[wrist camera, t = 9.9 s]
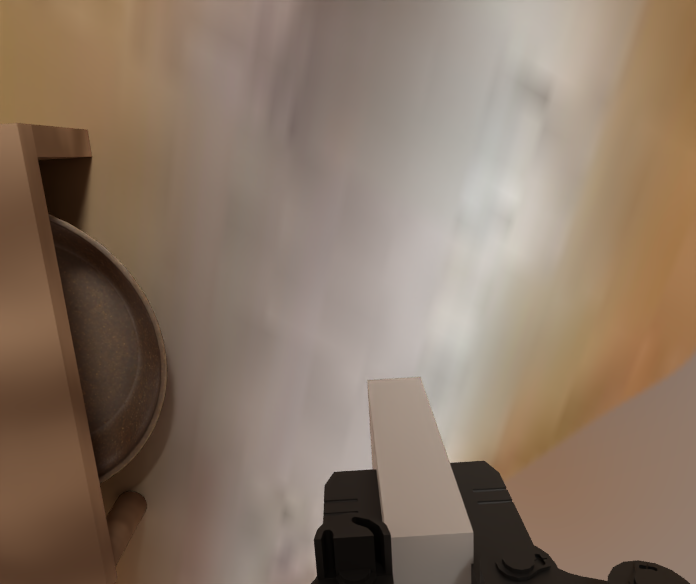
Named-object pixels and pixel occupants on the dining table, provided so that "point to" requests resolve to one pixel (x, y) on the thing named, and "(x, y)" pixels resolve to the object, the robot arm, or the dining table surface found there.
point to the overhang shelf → (46, 392)
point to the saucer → (111, 347)
